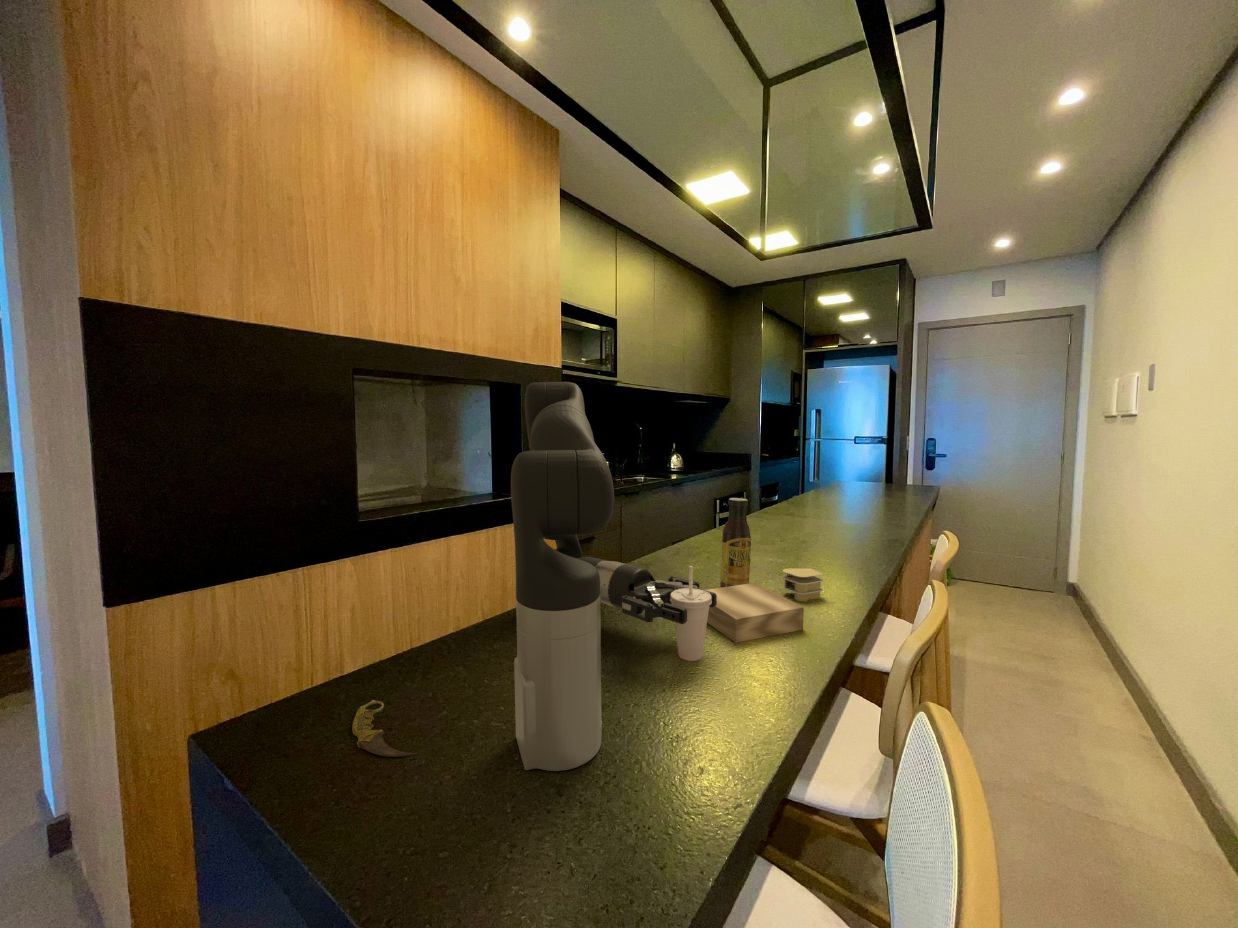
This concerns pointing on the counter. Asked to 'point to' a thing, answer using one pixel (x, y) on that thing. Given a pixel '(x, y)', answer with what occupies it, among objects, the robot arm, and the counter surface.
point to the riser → (753, 613)
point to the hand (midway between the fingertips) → (701, 608)
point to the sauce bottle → (735, 545)
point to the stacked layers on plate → (803, 583)
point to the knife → (372, 733)
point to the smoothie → (691, 620)
